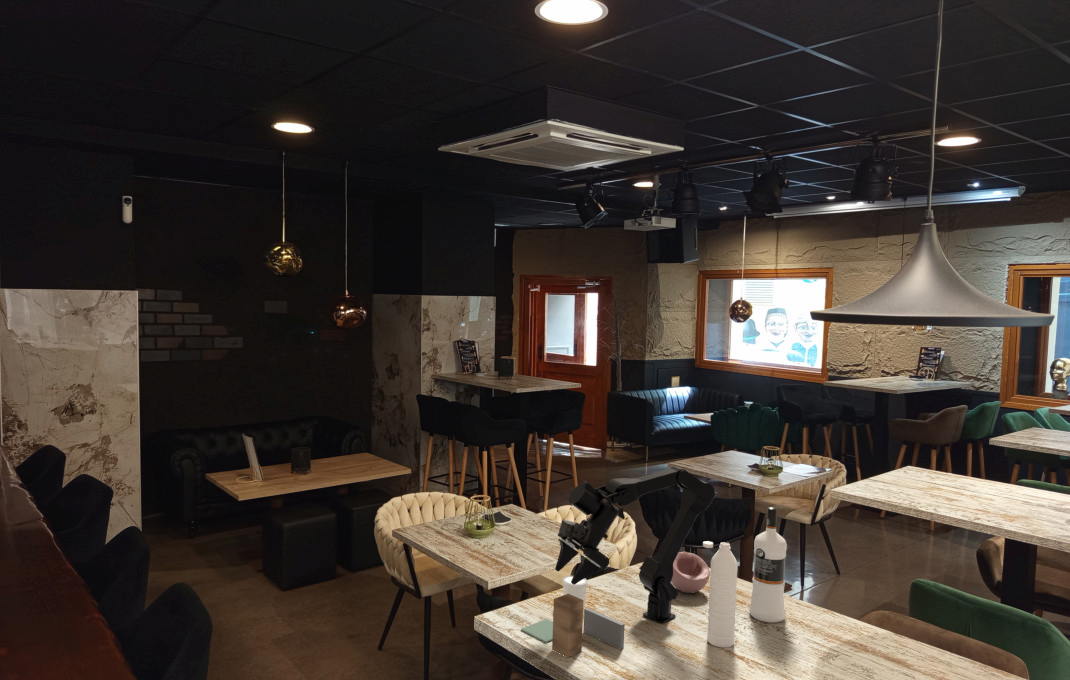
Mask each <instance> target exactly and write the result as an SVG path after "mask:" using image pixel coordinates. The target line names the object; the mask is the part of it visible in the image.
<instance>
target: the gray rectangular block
mask: <svg viewBox="0 0 1070 680" xmlns="http://www.w3.org/2000/svg"><path fill="white" fill-rule="evenodd" d="M625 626H626V623H623V622H621V621H619V620H617V619H615V618H612V617H610V616H607V615H605V614H604V613H603V614H602V613H600V612H598V611H596V610H594V609H591V608H589V607H586V608H583V629H582V633H584V634H586V633H587V634H586V635H588V634H589V635H588V636H590V635H591V636H590V637H592V636H594V637H593V638H595V637H596V638H595V639H597V638H598V639H597V640H599V639H600V640H599V641H601V640H602V641H601V642H603V641H604V642H603V643H605V642H606V643H605V644H607V643H608V645H610V646H612V647H614V648H616V649H618V650H622V649H624V648H625Z"/></svg>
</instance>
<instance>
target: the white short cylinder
mask: <svg viewBox="0 0 1070 680" xmlns="http://www.w3.org/2000/svg"><path fill="white" fill-rule="evenodd" d="M573 576H574V575H568V576H565V577H563V578H562V591H563V595H566V594H570V595H573V596H575V597H577V598H580V599H582V600H584V601H583V608H584V607H585V603H586V602H585V601H586V594H587V586H588V580H587V578H584V579H583V580H581V581H580V582H578V583H576V584H575V585H574V584H572V583H571V580H572V578H573ZM563 595H562V596H563Z"/></svg>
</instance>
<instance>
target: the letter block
mask: <svg viewBox="0 0 1070 680" xmlns="http://www.w3.org/2000/svg"><path fill="white" fill-rule="evenodd" d="M583 601H584V600H582V599H580V598H577V597H575V596H573V595H570V594H566V595H561V596H557V597H556V598H553V611H552V612H553V613H552V622H553V637H552V641H551V651H552V650H554V651H556V652H558V653H560V654H562V655H564V656H566V657H569V656H571V655H573V656H575V655H578V654H579V652H580V653H582V652H581V651H582V650H583V649H582V648H583V629H584V607H583ZM554 651H553V652H554ZM556 652H555V653H556ZM558 653H557V654H558ZM560 654H559V655H560ZM574 654H575V655H574ZM562 655H561V656H562ZM564 656H563V657H564ZM566 657H565V658H566ZM571 657H572V656H571ZM569 658H570V657H569Z"/></svg>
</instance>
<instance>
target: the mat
mask: <svg viewBox="0 0 1070 680" xmlns="http://www.w3.org/2000/svg"><path fill="white" fill-rule="evenodd" d="M520 631H521V632H523V633H525V634H527V635H529V636H531V637H532V638H535V639H537V640H539V641H541V640H542V641H541V642H543V641H544V642H543V643H545V642H547V643H549V641H550V642H552V637H553V620H550V619H547V618H545V619H542V620H539V621H537V622H535V623H532V624H529V625H527V626H525V627H522V628H520Z"/></svg>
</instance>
